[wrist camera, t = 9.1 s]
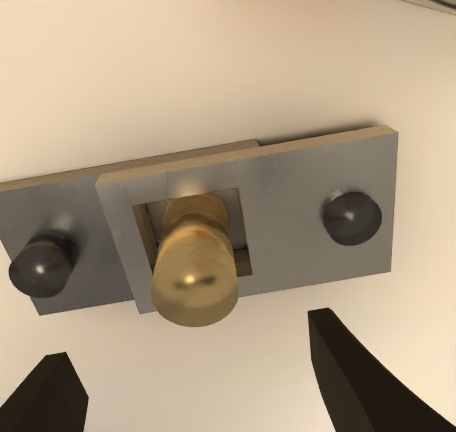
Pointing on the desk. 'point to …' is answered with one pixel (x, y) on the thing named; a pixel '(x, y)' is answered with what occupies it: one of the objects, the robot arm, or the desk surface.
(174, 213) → the brass pin
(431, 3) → the hard drive box
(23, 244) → the square cutout plate
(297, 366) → the desk surface
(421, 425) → the robot arm
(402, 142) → the desk surface
